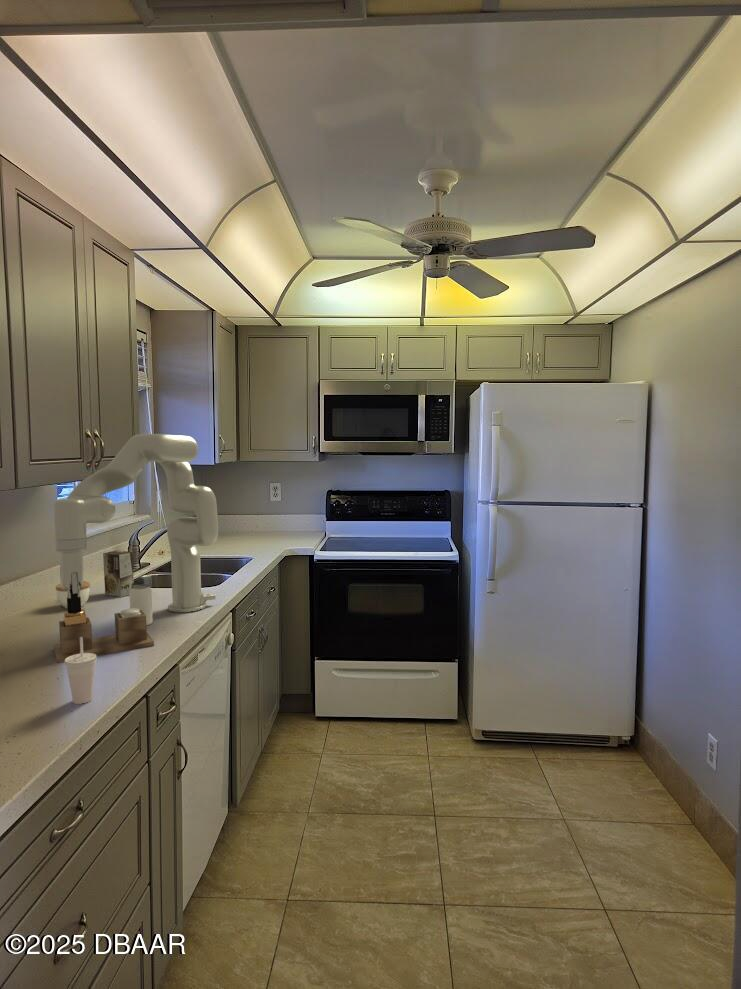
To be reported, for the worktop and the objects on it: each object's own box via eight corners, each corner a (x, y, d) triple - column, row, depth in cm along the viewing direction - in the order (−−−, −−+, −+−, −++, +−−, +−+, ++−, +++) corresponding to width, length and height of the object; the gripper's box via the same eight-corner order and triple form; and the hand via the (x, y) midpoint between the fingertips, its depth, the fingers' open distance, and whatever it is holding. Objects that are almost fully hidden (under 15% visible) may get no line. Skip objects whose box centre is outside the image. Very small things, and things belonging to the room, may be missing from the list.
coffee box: (135, 593, 223) (133, 551, 221) (120, 597, 217) (119, 554, 216) (118, 591, 227) (116, 549, 225) (104, 594, 221) (102, 552, 220)
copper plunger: (85, 635, 162) (83, 608, 162) (87, 640, 158) (85, 612, 157) (64, 638, 160) (63, 611, 159) (66, 643, 155) (65, 615, 155)
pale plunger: (138, 633, 170) (137, 607, 169) (142, 637, 166) (141, 611, 165) (120, 636, 167) (119, 610, 167) (123, 641, 163) (122, 614, 162)
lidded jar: (95, 606, 205) (93, 580, 204) (61, 612, 198) (60, 585, 197) (85, 600, 213) (84, 575, 212) (53, 606, 206) (51, 579, 205)
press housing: (145, 633, 174) (144, 606, 174) (154, 645, 164) (153, 616, 163) (54, 648, 162) (52, 619, 161) (57, 662, 151) (55, 631, 151)
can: (145, 619, 189) (144, 583, 188) (156, 623, 185) (155, 586, 184) (126, 624, 184) (125, 586, 183) (137, 628, 180) (135, 590, 179)
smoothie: (104, 694, 131) (101, 633, 130) (88, 707, 125) (85, 643, 124) (76, 694, 132) (73, 633, 131) (59, 706, 126) (56, 643, 124)
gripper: (53, 542, 161) (56, 607, 163) (57, 550, 148) (60, 621, 150) (83, 539, 165) (86, 603, 167) (90, 547, 152) (93, 616, 154)
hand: (74, 611), depth 158 cm, fingers closed
